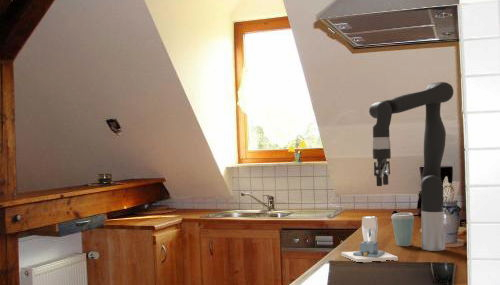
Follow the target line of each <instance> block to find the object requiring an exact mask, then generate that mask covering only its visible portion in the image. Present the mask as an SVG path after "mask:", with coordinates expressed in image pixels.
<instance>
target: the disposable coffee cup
mask: <svg viewBox="0 0 500 285" xmlns="http://www.w3.org/2000/svg"><path fill="white" fill-rule="evenodd" d="M390 219H391V221H392V222H391V223H392V228H393V233H394V237H395V238H394V239H395V244H396V246H399V247H409V246H411V245H412V240H413V239H412V238H413V229H414V223H415V222H414V221H415V216H414V213H412V212H397V213H393V214H392V215H391V217H390Z"/></svg>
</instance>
